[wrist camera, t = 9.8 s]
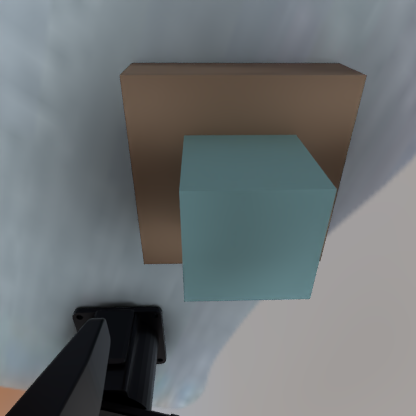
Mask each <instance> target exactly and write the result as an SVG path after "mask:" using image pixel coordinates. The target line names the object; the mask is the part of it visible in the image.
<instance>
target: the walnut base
mask: <svg viewBox="0 0 416 416" xmlns="http://www.w3.org/2000/svg"><path fill="white" fill-rule="evenodd" d="M366 76H367V75H365V74H362V73H360V72H358V71H356V70H353V69H351V68H349V67H346V66H344V65H342V64H340V63H131V64H130V65H129V66H128V67H127V68H126V69H125V70H124V71H123V72H122V73H121V74H120V82H121V89H122V97H123V105H124V113H125V120H126V128H127V136H128V143H129V151H130V159H131V167H132V174H133V182H134V190H135V197H136V205H137V213H138V221H139V228H140V236H141V244H142V252H143V259H144V264H182V263H183V261H182V240H181V219H180V198H179V187H180V176H181V164H182V153H183V141H184V135H297V137H298V138H299V139H300V141H301V142H302V143H303V145H304V146H305V147H306V149H307V150H308V151H309V153H310V154H311V155H312V157H313V158H314V159H315V161H316V162H317V163H318V165H319V166H320V167H321V169H322V170H323V171H324V173H325V174H326V175H327V177H328V178H329V179H330V181H331V182H332V183H333V185H334V186H335V187H336V189H337V191H336V195H335V199H334V203H333V207H332V211H331V215H330V219H329V223H328V227H327V231H326V235H325V240H326V236H327V232H328V228H329V224H330V220H331V216H332V212H333V208H334V204H335V200H336V196H337V192H338V188H339V184H340V180H341V176H342V172H343V168H344V164H345V160H346V156H347V152H348V148H349V144H350V140H351V136H352V132H353V128H354V124H355V120H356V116H357V112H358V108H359V104H360V100H361V96H362V92H363V88H364V84H365V80H366ZM325 240H324V244H325ZM324 244H323V248H324ZM323 248H322V252H323ZM322 252H321V256H322ZM321 256H320V260H321ZM320 260H319V261H320Z"/></svg>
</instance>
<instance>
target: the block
mask: <svg viewBox="0 0 416 416" xmlns="http://www.w3.org/2000/svg"><path fill="white" fill-rule="evenodd" d="M336 191H337V189H336V187H335V186H334V185H333V183H332V182H331V181H330V179H329V178H328V177H327V175H326V174H325V173H324V171H323V170H322V169H321V167H320V166H319V165H318V163H317V162H316V161H315V159H314V158H313V157H312V155H311V154H310V153H309V151H308V150H307V149H306V147H305V146H304V145H303V143H302V142H301V141H300V139H299V138H298V137H297V135H184V141H183V153H182V164H181V176H180V187H179V198H180V219H181V240H182V261H183V282H184V302H186V301H234V300H282V299H310V296H311V292H312V288H313V284H314V280H315V276H316V272H317V268H318V264H319V260H320V256H321V252H322V248H323V244H324V240H325V235H326V231H327V227H328V223H329V219H330V215H331V211H332V207H333V203H334V199H335V195H336Z"/></svg>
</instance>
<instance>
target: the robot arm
mask: <svg viewBox="0 0 416 416" xmlns="http://www.w3.org/2000/svg"><path fill="white" fill-rule="evenodd" d="M73 320H74V323H75V326H76V329H77V333H76V334H75V336H74V337H73V338H72V339H71V340H70V341H69V342H68V344H67V345H66V346H65V347H64V348H63V349H62V351H61V352H60V353H59V354H58V355H57V356H56V357H55V359H54V360H53V361H52V362H51V363H50V364H49V366H48V367H47V368H46V369H45V370H44V371H43V373H42V374H41V375H40V376H39V377H38V378H37V379H36V381H35V382H34V383H33V384H32V385H31V386H30V388H29V389H28V390H27V391H26V392H25V393H24V395H23V396H22V397H21V398H20V399H19V400H18V401H17V403H16V404H15V405H14V406H13V407H12V408H11V410H10V411H9V412H8V413H7V414H6V415H5V416H179V415H175V414H171V415H168V414H164V413H159V412H155V411H151V409H152V399H153V390H154V381H155V372H156V364H162V363H165V362H166V348H165V338H164V328H163V318H162V311H161V309H160V308H158V307H131V308H82V309H76V310H75V311H74V314H73Z"/></svg>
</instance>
